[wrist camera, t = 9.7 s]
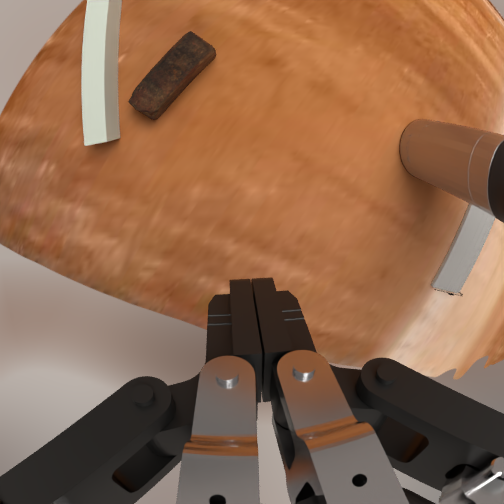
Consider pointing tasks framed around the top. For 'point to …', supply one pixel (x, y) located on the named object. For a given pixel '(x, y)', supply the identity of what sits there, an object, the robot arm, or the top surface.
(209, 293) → the top surface
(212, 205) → the top surface
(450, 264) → the baseboard molding
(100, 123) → the board
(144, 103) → the brick
